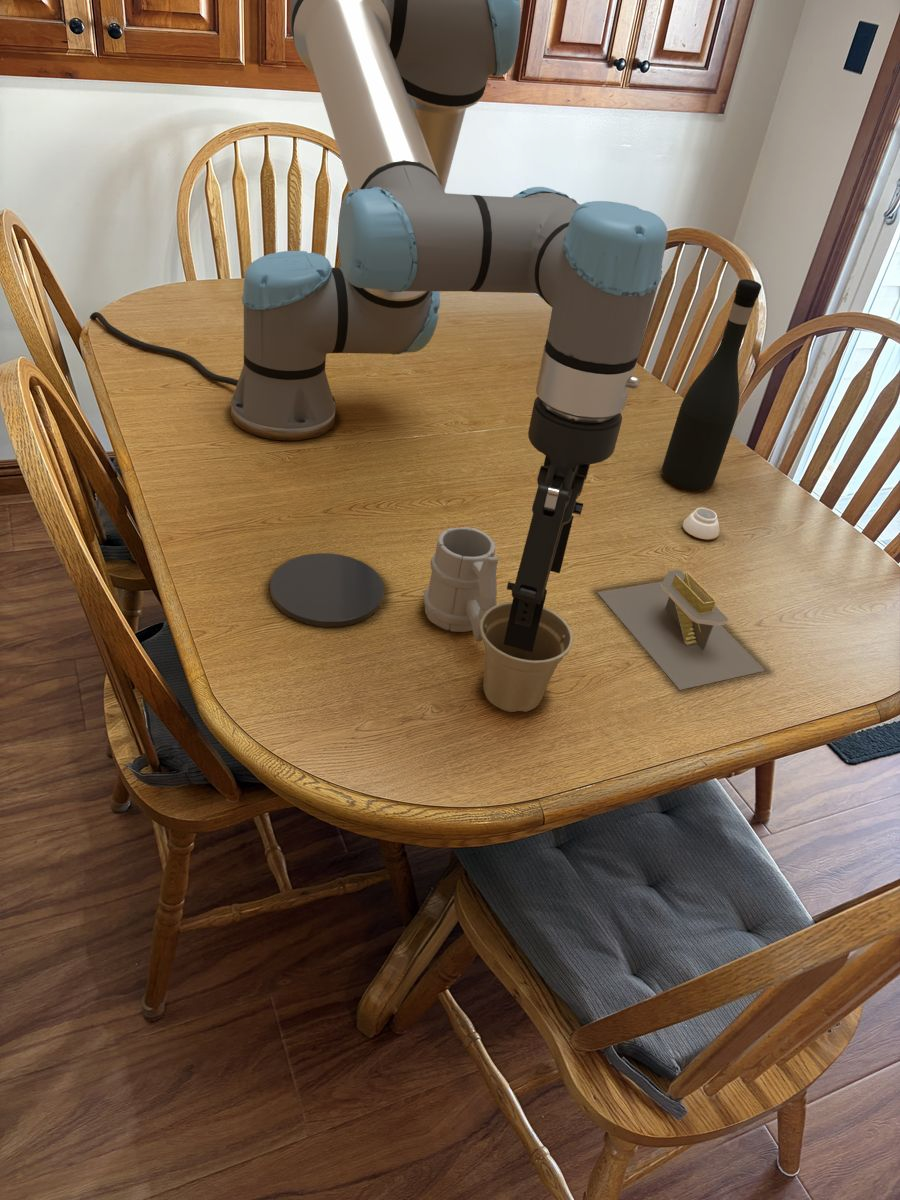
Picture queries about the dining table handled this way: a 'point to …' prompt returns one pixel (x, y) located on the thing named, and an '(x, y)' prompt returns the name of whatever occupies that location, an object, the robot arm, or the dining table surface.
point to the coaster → (326, 590)
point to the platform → (681, 630)
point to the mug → (462, 580)
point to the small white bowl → (702, 524)
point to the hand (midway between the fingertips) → (533, 605)
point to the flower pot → (521, 659)
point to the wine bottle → (710, 405)
